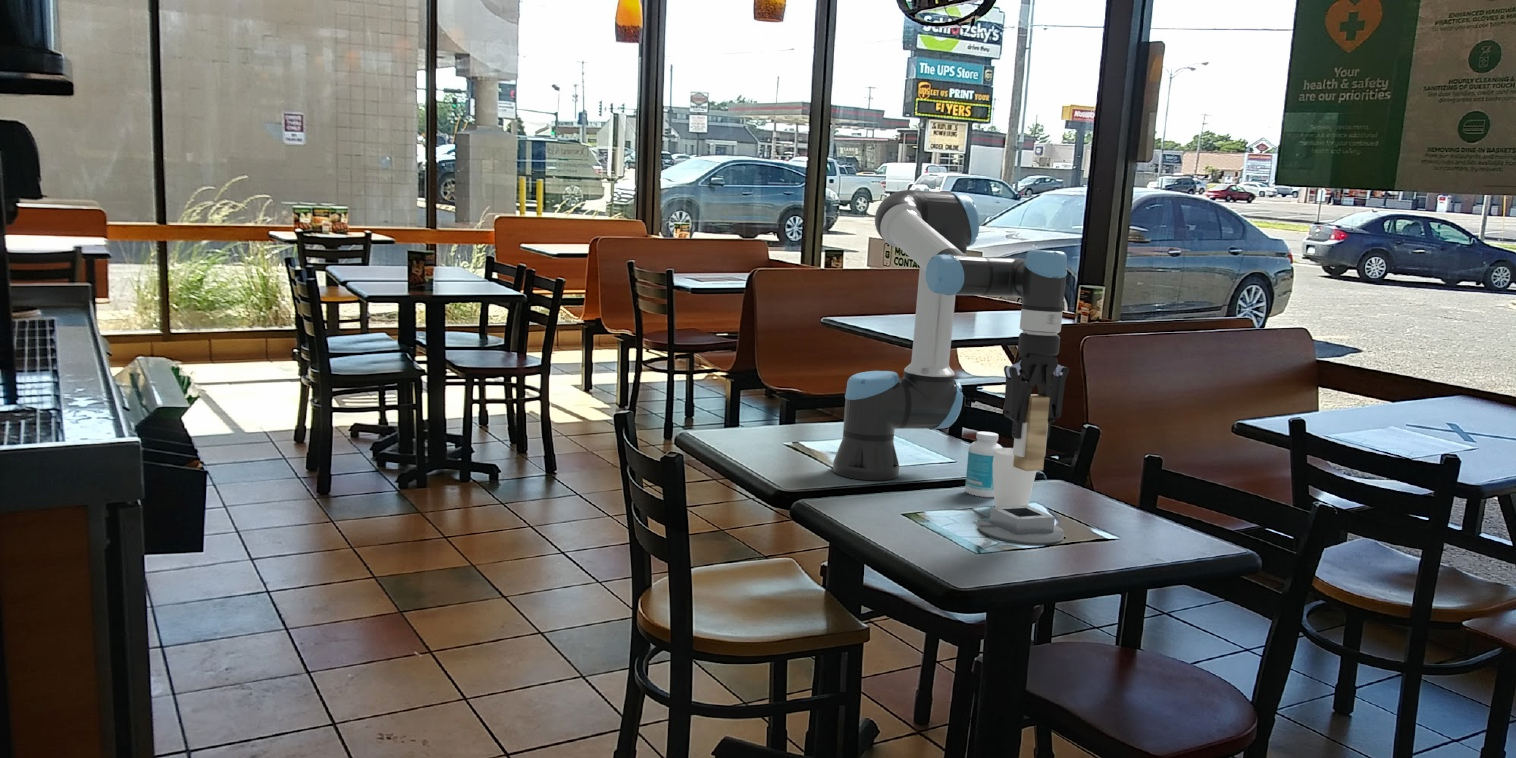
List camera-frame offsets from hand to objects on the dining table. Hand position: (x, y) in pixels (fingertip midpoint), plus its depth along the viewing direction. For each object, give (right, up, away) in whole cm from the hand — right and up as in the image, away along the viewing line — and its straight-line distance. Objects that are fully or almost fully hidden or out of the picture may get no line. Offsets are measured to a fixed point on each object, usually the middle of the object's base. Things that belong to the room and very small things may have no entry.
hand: (1029, 454), depth 217 cm
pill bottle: (-3, -11, +32) cm, 34 cm away
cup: (+1, -13, +21) cm, 24 cm away
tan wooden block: (0, -3, 0) cm, 3 cm away
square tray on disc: (-1, -15, +3) cm, 15 cm away
